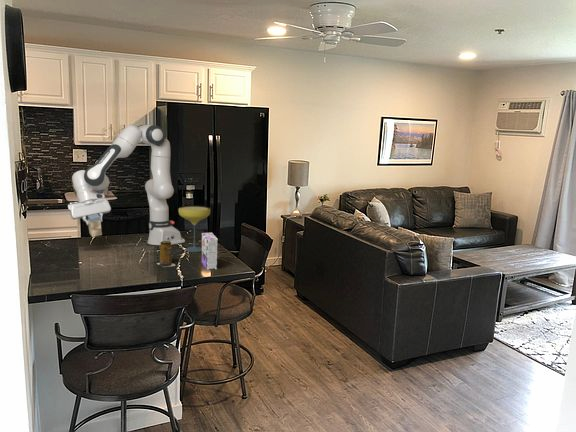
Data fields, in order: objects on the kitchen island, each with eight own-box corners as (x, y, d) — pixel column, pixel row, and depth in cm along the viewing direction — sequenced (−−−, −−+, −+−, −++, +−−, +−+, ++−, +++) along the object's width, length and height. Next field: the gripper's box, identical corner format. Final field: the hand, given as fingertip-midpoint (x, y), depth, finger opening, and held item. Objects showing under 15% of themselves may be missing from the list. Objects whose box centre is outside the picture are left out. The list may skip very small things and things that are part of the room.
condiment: (169, 261, 242) (169, 239, 240) (176, 265, 236) (176, 243, 234) (156, 263, 238) (155, 241, 235) (163, 267, 231) (162, 244, 229)
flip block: (98, 230, 251) (96, 213, 246) (101, 234, 247) (100, 216, 242) (89, 232, 248) (87, 215, 243) (92, 236, 245) (90, 219, 239)
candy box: (201, 262, 243) (201, 232, 240) (212, 261, 245) (212, 232, 242) (206, 270, 230) (206, 238, 227) (217, 269, 232) (218, 238, 229)
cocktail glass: (212, 252, 263) (213, 210, 259) (181, 254, 256) (181, 210, 252) (206, 245, 280) (206, 205, 275) (176, 246, 273) (176, 205, 268)
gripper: (67, 201, 237) (75, 225, 235) (107, 193, 249) (114, 217, 247) (65, 205, 242) (73, 229, 240) (104, 198, 254) (112, 220, 252)
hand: (94, 223), depth 244 cm, fingers closed on flip block, 5 cm apart
